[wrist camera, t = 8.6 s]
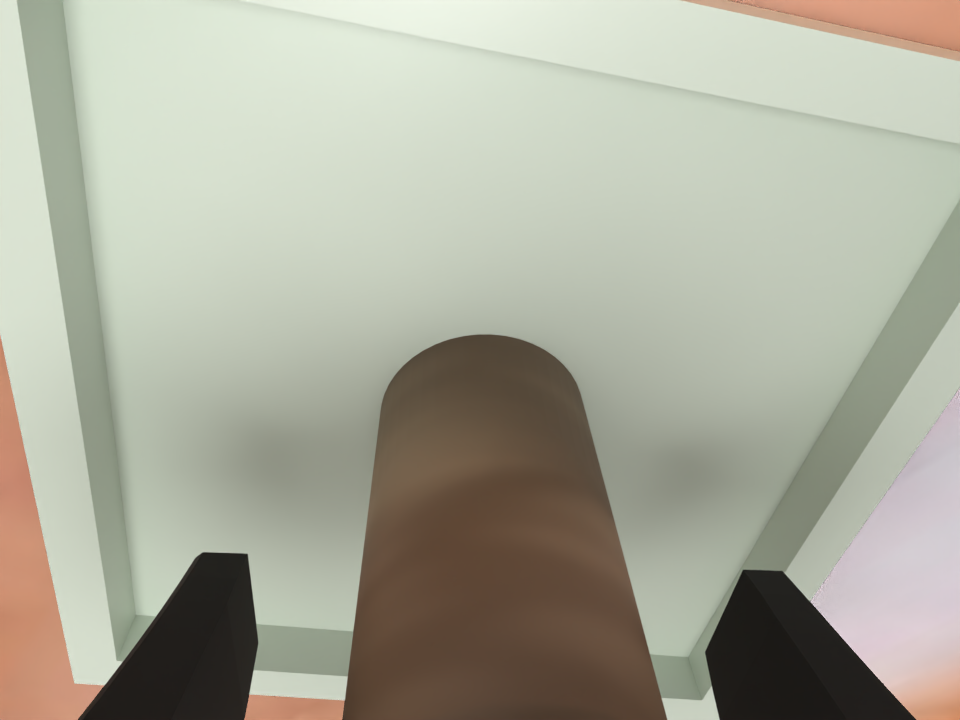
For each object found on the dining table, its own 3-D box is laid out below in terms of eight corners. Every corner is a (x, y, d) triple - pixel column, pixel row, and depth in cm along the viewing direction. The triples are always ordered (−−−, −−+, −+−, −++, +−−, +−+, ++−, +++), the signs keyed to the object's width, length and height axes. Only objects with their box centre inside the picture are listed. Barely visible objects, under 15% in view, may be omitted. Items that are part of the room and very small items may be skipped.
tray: (1054, 72, 12) (1157, 104, 10) (700, 655, 20) (723, 724, 19) (-9, -163, 9) (-109, -172, 8) (108, 609, 18) (74, 683, 16)
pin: (599, 339, 13) (724, 707, 7) (566, 496, 15) (641, 872, 9) (380, 328, 13) (327, 702, 7) (379, 490, 15) (337, 877, 9)
